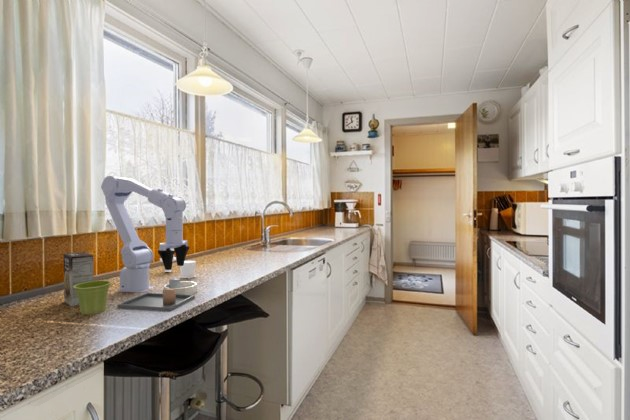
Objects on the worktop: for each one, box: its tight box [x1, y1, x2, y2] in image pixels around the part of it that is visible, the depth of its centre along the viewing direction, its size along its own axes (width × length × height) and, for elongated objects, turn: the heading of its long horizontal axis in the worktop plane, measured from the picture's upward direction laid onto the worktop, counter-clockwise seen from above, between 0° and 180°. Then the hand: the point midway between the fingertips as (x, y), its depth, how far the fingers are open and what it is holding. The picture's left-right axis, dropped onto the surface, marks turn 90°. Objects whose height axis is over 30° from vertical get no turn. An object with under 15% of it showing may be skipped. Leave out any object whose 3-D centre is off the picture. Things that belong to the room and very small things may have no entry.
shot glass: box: [179, 259, 197, 279], centre depth 149 cm, size 7×7×7 cm
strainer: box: [159, 241, 177, 273], centre depth 159 cm, size 7×7×15 cm
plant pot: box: [73, 279, 112, 315], centre depth 101 cm, size 9×9×9 cm
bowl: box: [163, 280, 198, 295], centre depth 122 cm, size 11×11×3 cm
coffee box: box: [63, 252, 94, 308], centre depth 111 cm, size 9×6×16 cm
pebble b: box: [162, 288, 176, 305], centre depth 109 cm, size 4×4×4 cm
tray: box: [117, 292, 196, 312], centre depth 110 cm, size 18×14×2 cm
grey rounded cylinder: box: [168, 277, 181, 288], centre depth 123 cm, size 4×4×4 cm
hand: (174, 267), depth 123 cm, fingers open, 7 cm apart
